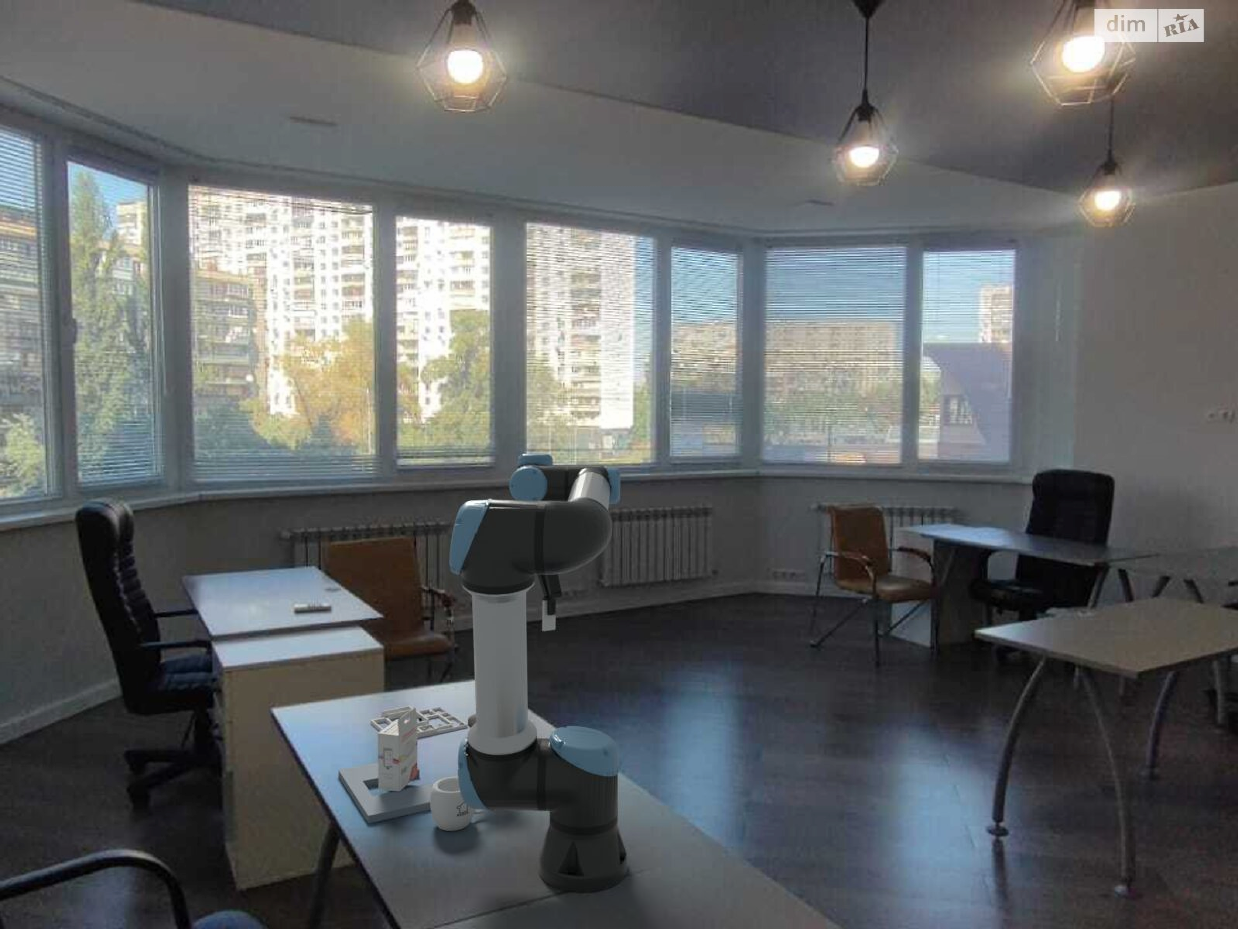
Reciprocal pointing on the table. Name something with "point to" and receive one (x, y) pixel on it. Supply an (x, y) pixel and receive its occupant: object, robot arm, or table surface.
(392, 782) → the ink cartridge box
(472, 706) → the table surface
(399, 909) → the table surface
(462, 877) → the table surface
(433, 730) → the floor plan model
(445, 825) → the mug
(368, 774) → the notched board
